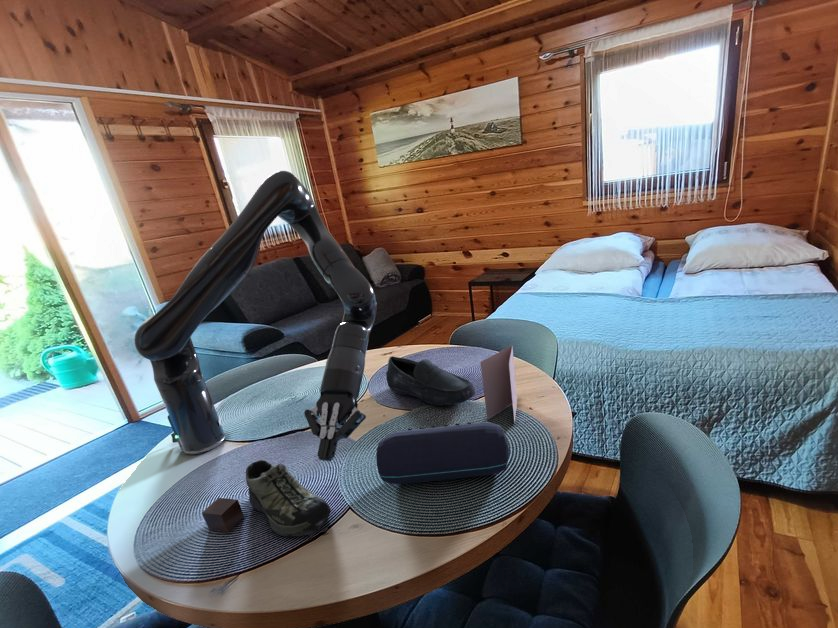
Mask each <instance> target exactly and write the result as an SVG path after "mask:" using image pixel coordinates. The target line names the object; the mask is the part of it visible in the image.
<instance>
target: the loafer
mask: <svg viewBox="0 0 838 628" xmlns="http://www.w3.org/2000/svg"><path fill="white" fill-rule="evenodd" d="M385 376H386V377H385V378H386V382H387V387H388V388H389V389H390V390H391V391H392V392H394V393H396V394H398V395H403V396H413V397H416V398H418V399H420V400H421V401H424V402H426V403H427V404H429V405H434V406H454V405H457V404H461V403H464V402H466V401H468V400H469V399H471V398H472V397H474V396H475V395H476V388H475V385H474V383H473V382H471V381H470V380H468V379H466V378H464V377H462V376H459V375H456V374H454V373H452V372H449V371H447V370H445V369H443V368H441V367H439V366H437V365H436V364H434V363H433V362H432V361H431V360H430V359H429V358H423V359H421V360H420V361H416V360H413V359H409V358H404V357H397V356H393V355H392V356H390V357H389V358H388V360H387V370H386V371H385Z"/></svg>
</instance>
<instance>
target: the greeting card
mask: <svg viewBox="0 0 838 628" xmlns="http://www.w3.org/2000/svg"><path fill="white" fill-rule="evenodd" d="M479 364H480V372H481V379H482V390H483V396H484V405H485V413H486V420H487V421H489V420H490V419H491V418H493V417H495V416H496V415H498V414H499V413H500V412H502V411H503V410H505V409H506V408H507V407H509V406H511V405H512V413H513V424H514V425H515V424H516V414H517V405H518V394H517V392H518V391H517V382H516V371H515V359H514V347H513V345H510V346H508V347H506V348H504V349H502V350H500V351H499V352H498V351H497V352H496V353H494V354H492V355H491V356H489V357H486V358H485V359H483V360H481V361H479Z"/></svg>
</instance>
